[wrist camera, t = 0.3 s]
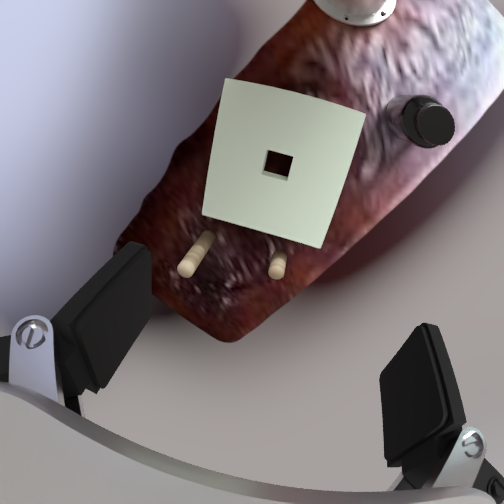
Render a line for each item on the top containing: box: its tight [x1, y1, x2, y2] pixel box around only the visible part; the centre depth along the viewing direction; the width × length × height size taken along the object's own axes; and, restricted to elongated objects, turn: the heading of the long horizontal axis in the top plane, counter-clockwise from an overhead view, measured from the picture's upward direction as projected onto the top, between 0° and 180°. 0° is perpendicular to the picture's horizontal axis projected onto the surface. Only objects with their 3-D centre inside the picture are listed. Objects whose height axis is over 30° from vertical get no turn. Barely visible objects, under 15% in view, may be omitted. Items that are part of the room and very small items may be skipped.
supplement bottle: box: [386, 95, 455, 149], centre depth 29 cm, size 7×7×12 cm
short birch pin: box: [268, 250, 287, 279], centre depth 48 cm, size 2×2×5 cm
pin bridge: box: [202, 78, 366, 248], centre depth 39 cm, size 20×18×6 cm
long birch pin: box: [177, 230, 216, 278], centre depth 47 cm, size 2×2×11 cm
